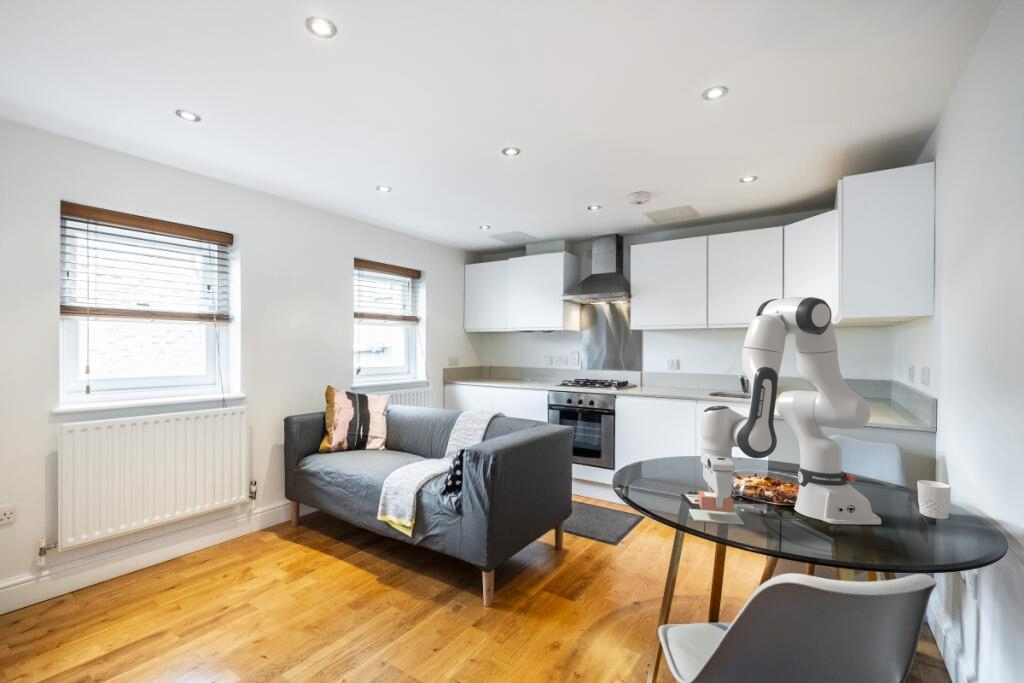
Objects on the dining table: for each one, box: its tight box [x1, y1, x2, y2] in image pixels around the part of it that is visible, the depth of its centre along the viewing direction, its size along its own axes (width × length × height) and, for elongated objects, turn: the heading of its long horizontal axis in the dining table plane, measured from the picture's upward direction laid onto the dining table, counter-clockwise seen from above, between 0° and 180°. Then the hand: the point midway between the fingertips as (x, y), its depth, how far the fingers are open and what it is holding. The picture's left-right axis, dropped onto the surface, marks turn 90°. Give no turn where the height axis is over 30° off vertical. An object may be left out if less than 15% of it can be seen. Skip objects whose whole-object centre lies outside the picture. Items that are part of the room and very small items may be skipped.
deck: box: [698, 490, 734, 513], centre depth 141 cm, size 9×6×4 cm, turn 75°
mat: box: [688, 508, 745, 526], centre depth 142 cm, size 14×9×1 cm, turn 79°
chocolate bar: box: [680, 493, 701, 510], centre depth 153 cm, size 9×1×18 cm
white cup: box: [916, 479, 952, 520], centre depth 145 cm, size 8×8×10 cm
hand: (715, 502), depth 141 cm, fingers closed on deck, 6 cm apart
